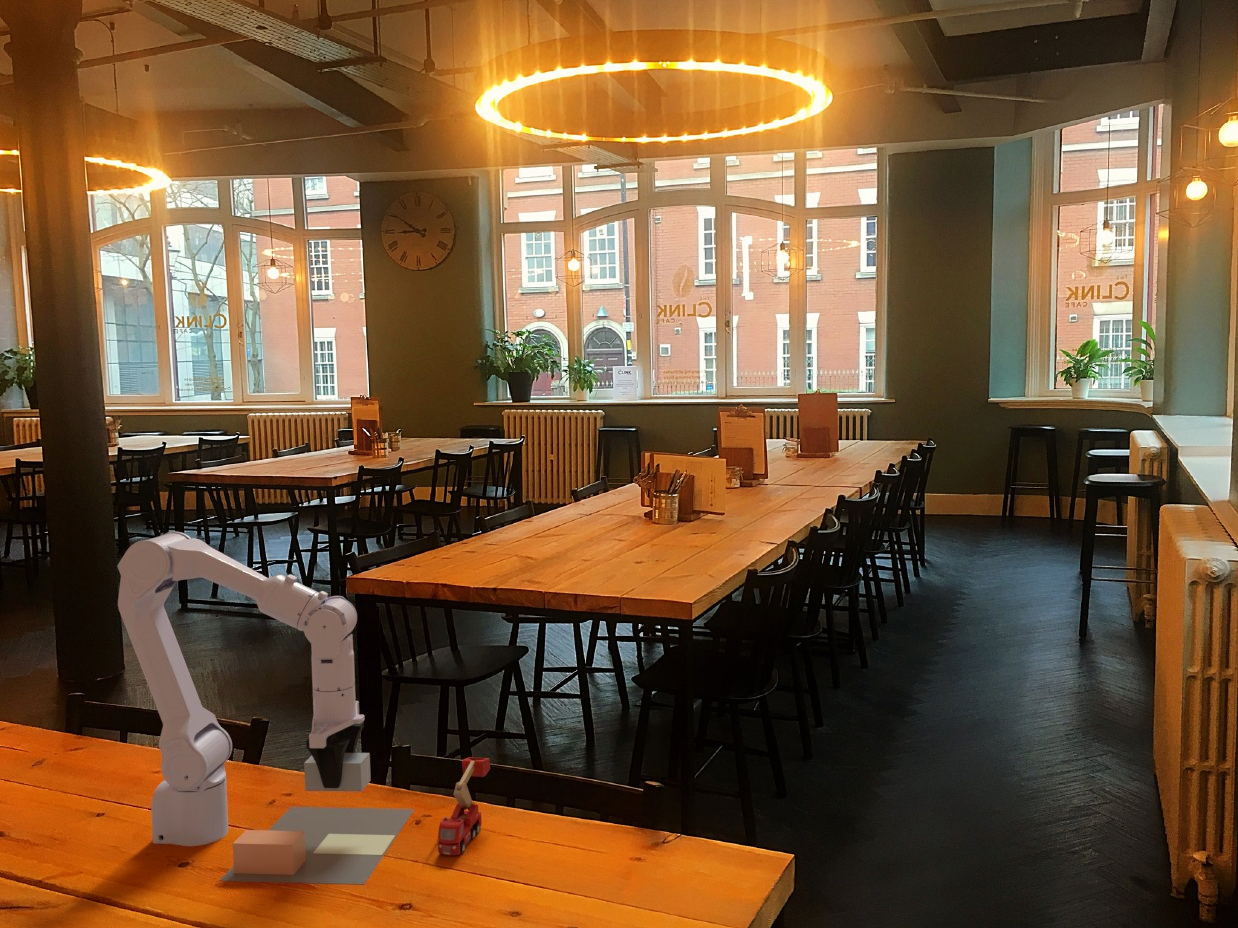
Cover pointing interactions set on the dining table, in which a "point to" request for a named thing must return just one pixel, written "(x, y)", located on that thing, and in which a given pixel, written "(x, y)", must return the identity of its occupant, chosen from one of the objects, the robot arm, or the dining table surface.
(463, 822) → the toy fire truck
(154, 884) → the dining table surface
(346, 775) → the slate brick
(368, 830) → the baseplate
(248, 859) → the terracotta brick
